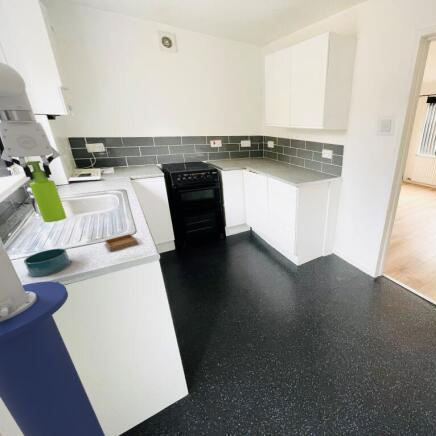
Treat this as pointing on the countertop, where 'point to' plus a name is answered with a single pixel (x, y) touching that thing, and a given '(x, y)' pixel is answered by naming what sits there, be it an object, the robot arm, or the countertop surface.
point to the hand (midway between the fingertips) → (40, 177)
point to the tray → (120, 242)
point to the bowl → (47, 262)
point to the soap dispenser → (46, 195)
